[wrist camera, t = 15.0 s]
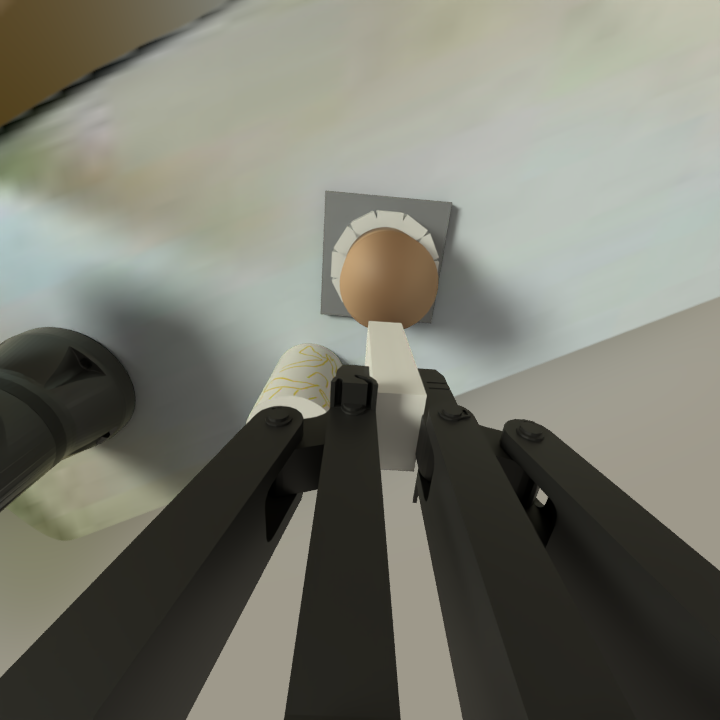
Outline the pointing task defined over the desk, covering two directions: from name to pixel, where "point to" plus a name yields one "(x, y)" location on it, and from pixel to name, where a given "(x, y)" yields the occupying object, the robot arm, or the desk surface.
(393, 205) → the socket
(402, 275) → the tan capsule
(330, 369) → the cup
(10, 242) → the desk surface
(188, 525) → the robot arm
